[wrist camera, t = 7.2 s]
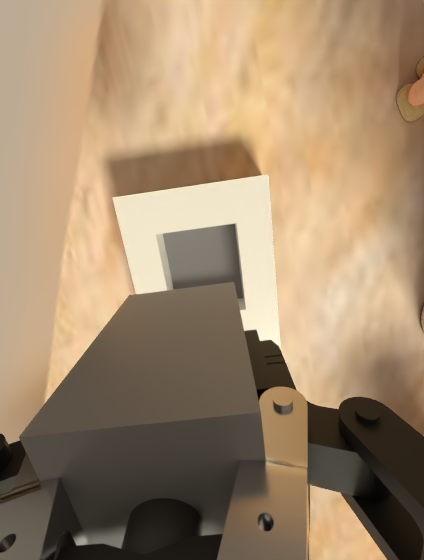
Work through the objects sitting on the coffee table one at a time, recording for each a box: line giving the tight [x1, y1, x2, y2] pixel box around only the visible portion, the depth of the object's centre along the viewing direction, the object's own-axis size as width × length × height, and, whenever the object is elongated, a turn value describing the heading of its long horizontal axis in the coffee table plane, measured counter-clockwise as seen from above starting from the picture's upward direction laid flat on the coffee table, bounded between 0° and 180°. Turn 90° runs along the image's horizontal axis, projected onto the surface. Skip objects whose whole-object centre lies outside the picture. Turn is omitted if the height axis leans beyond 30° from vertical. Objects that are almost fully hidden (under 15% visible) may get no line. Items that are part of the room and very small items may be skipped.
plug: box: [19, 282, 266, 554], centre depth 8 cm, size 4×6×9 cm
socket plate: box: [112, 174, 281, 350], centre depth 24 cm, size 12×16×4 cm
